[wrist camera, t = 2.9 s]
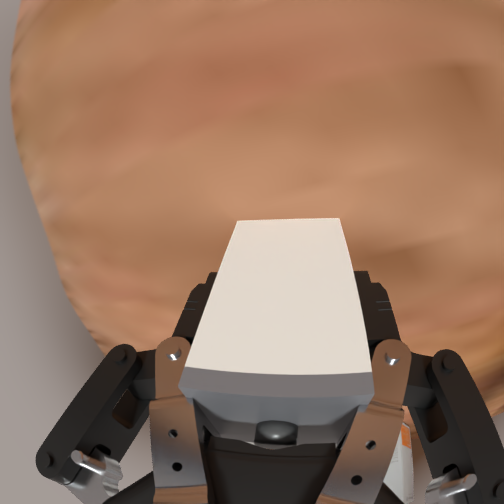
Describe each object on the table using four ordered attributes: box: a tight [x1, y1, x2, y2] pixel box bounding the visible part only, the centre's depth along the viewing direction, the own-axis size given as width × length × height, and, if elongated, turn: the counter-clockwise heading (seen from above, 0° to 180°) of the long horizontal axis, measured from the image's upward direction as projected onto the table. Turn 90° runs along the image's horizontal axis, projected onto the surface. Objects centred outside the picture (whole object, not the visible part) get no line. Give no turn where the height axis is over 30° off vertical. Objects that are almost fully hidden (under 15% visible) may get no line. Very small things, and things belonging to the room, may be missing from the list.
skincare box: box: [383, 423, 414, 504], centre depth 21 cm, size 6×4×12 cm
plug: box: [178, 218, 375, 449], centre depth 10 cm, size 4×4×9 cm
